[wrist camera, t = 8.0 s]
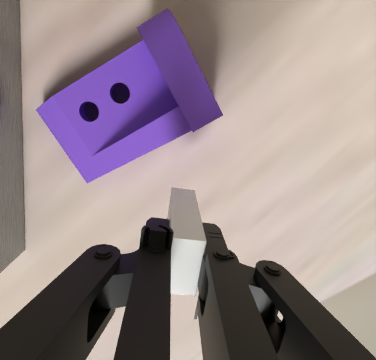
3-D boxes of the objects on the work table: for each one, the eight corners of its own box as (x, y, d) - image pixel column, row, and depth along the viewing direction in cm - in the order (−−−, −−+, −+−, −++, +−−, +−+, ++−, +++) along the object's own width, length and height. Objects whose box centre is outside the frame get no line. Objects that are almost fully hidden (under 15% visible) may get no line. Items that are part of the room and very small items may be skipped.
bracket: (170, 32, 20) (165, -2, 14) (210, 111, 22) (223, 115, 16) (45, 109, 22) (-13, 111, 15) (92, 178, 24) (58, 206, 17)
